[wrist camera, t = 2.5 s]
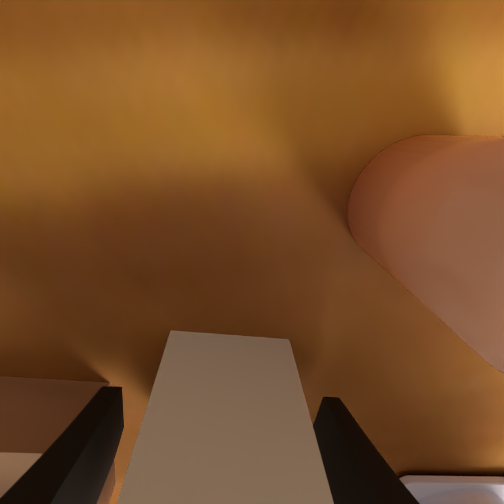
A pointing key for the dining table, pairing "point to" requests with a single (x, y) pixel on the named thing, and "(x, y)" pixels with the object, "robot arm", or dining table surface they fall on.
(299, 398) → the grey block
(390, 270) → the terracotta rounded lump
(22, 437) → the walnut slab
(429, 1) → the dining table surface
